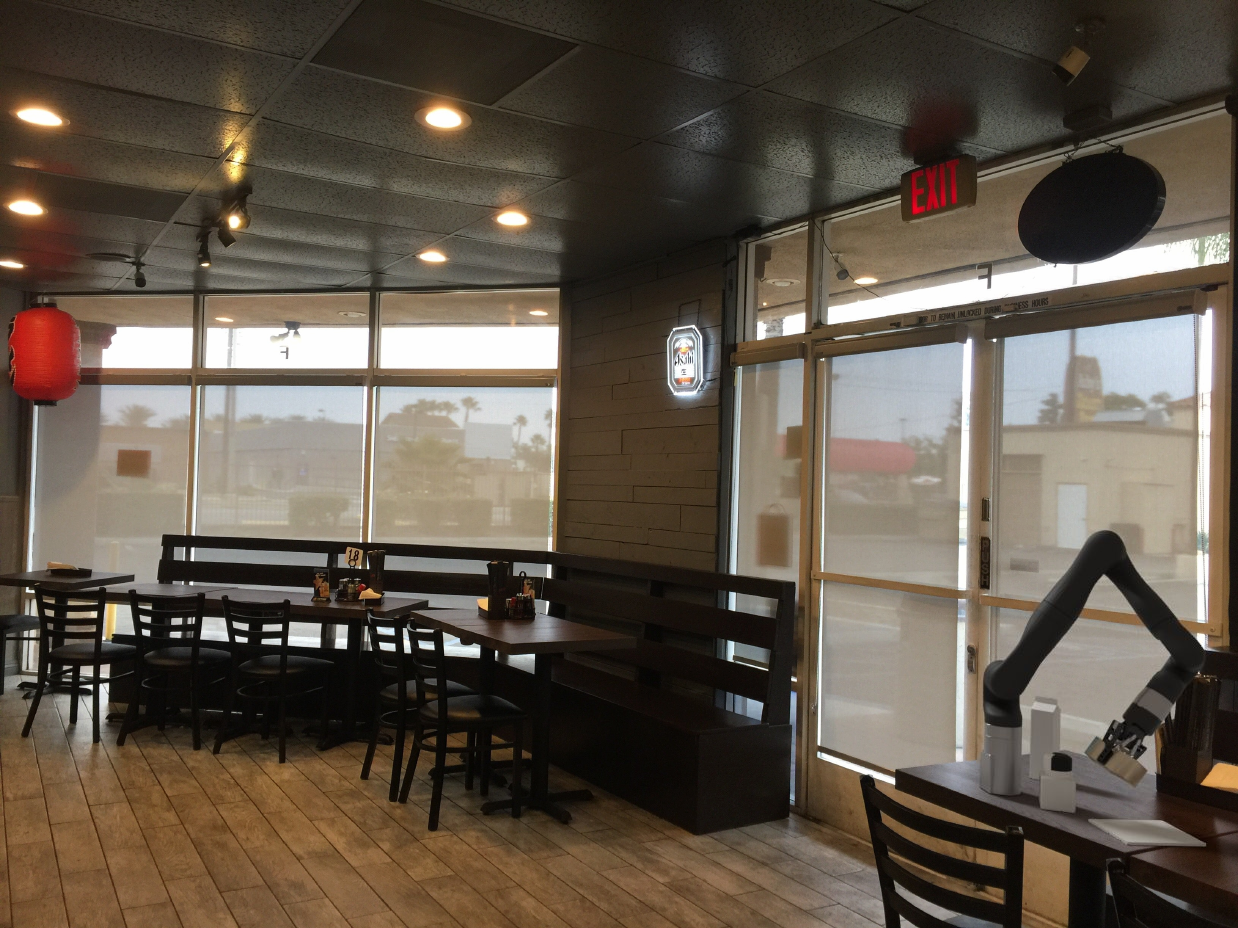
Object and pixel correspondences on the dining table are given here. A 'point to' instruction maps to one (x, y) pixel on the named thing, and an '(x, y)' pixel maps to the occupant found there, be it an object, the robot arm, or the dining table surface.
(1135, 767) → the block
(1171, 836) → the mat
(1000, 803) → the dining table surface
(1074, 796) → the container
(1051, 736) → the milk
